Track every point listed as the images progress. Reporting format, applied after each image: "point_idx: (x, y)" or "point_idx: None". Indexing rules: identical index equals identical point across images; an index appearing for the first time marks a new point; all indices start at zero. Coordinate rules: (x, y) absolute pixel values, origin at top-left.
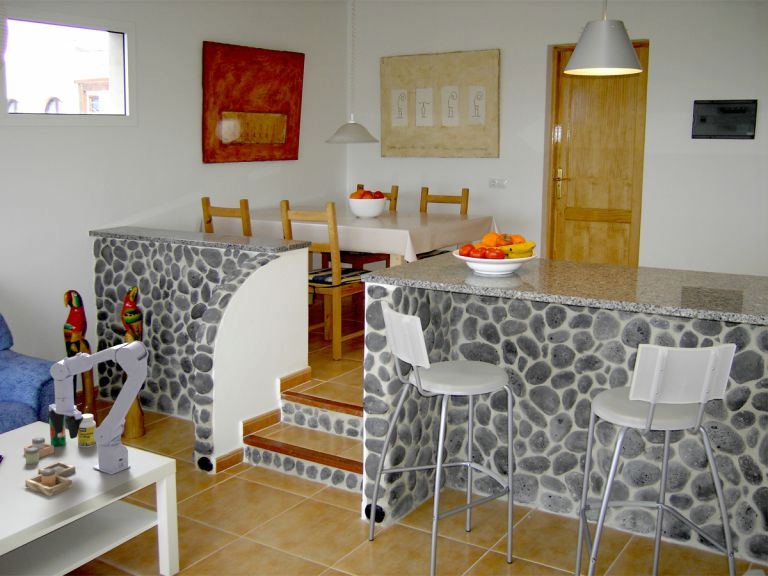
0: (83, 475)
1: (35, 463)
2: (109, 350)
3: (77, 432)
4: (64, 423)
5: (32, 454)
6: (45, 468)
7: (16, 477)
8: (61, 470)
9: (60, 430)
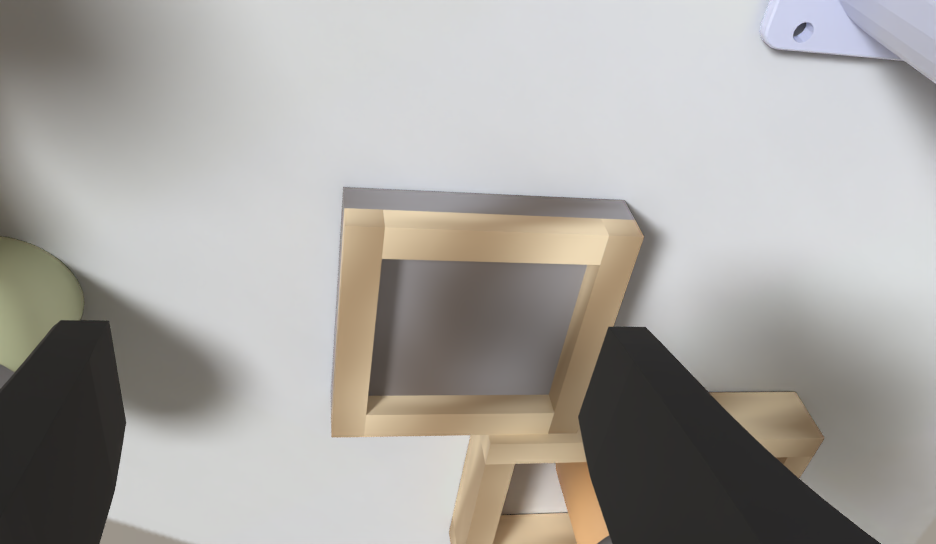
0: (756, 211)
1: (76, 318)
2: None
3: (702, 396)
4: None
5: None
6: (368, 388)
7: (227, 500)
8: (571, 354)
9: (105, 399)
